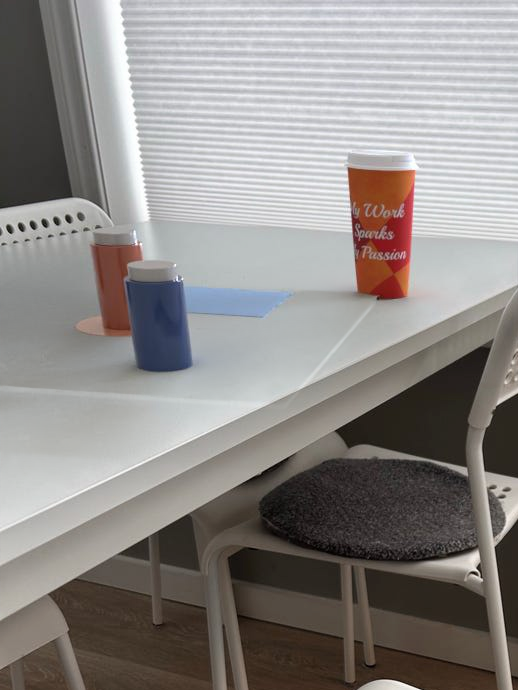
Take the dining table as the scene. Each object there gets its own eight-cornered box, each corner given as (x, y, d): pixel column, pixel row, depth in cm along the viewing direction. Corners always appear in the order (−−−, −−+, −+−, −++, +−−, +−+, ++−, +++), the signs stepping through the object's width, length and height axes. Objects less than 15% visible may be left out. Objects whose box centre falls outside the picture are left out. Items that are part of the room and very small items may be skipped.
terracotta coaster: (58, 337, 84) (57, 332, 84) (101, 315, 91) (100, 310, 91) (157, 343, 83) (157, 338, 83) (192, 320, 91) (192, 316, 91)
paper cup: (336, 296, 103) (331, 152, 96) (364, 284, 109) (361, 147, 102) (403, 303, 101) (403, 157, 94) (428, 290, 107) (430, 152, 100)
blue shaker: (127, 374, 75) (111, 267, 71) (149, 360, 79) (134, 257, 75) (182, 378, 75) (169, 271, 71) (200, 363, 78) (189, 260, 74)
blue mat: (123, 312, 93) (122, 308, 92) (167, 288, 103) (167, 284, 103) (263, 321, 92) (263, 316, 92) (294, 296, 102) (294, 292, 102)
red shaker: (94, 328, 85) (78, 232, 81) (114, 317, 89) (100, 225, 85) (141, 331, 85) (128, 235, 81) (159, 320, 89) (147, 228, 85)
